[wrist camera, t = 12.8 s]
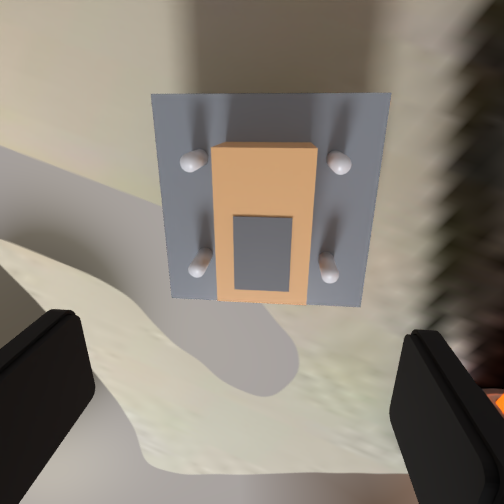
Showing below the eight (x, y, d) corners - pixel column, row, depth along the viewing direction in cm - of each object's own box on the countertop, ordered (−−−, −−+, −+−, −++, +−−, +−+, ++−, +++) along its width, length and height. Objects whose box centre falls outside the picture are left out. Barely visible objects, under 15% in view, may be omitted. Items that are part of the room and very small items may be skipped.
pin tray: (357, 299, 28) (368, 328, 24) (175, 291, 30) (159, 317, 26) (386, 94, 22) (407, 88, 18) (157, 95, 24) (132, 90, 20)
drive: (302, 272, 27) (306, 305, 22) (229, 269, 27) (217, 301, 22) (311, 142, 23) (318, 148, 18) (225, 141, 23) (210, 147, 19)
